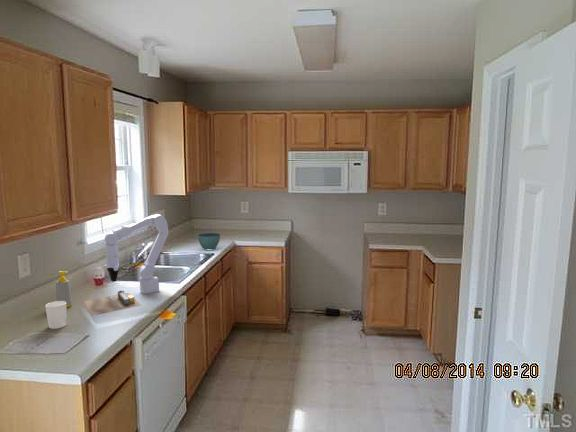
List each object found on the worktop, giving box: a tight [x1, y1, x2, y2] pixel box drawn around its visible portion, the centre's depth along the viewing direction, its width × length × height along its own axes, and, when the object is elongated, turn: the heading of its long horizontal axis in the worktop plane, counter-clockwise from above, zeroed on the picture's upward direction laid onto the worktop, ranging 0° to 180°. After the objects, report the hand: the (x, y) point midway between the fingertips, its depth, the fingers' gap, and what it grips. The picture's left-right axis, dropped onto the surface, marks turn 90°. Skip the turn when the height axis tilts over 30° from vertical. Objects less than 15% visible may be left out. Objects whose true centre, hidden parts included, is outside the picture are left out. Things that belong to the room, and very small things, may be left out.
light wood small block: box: [127, 294, 136, 303], centre depth 200 cm, size 2×4×3 cm, turn 36°
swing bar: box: [117, 290, 129, 305], centre depth 202 cm, size 16×3×3 cm, turn 33°
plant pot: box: [197, 232, 221, 250], centre depth 331 cm, size 18×18×12 cm
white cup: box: [44, 300, 68, 330], centre depth 174 cm, size 8×8×10 cm
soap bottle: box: [55, 270, 73, 309], centre depth 198 cm, size 7×7×18 cm
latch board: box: [82, 292, 142, 316], centre depth 199 cm, size 22×24×2 cm
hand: (113, 281), depth 209 cm, fingers closed
